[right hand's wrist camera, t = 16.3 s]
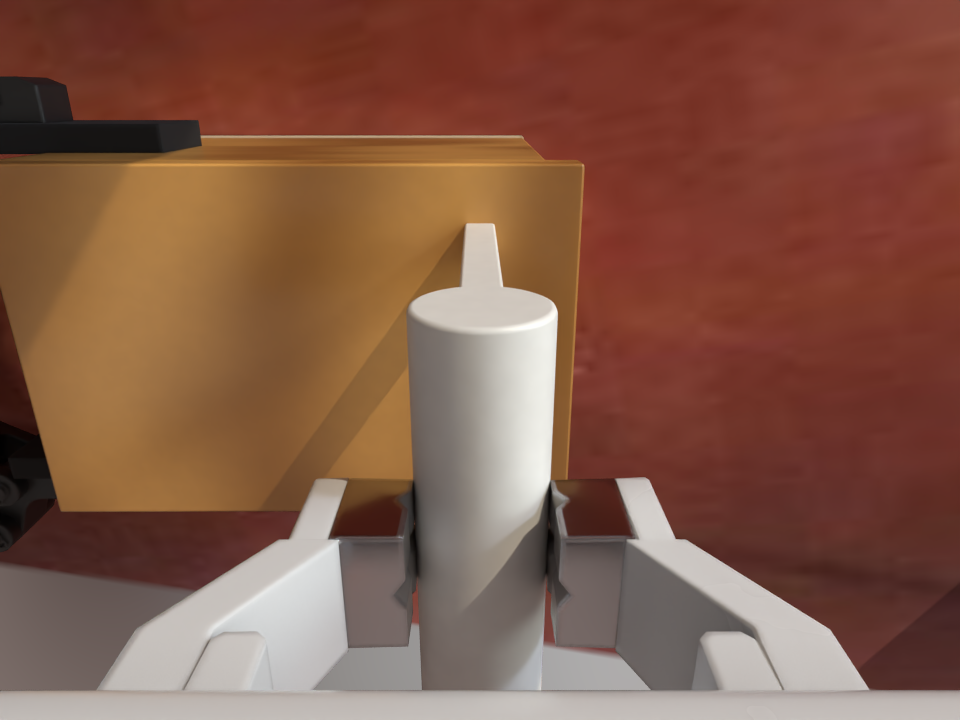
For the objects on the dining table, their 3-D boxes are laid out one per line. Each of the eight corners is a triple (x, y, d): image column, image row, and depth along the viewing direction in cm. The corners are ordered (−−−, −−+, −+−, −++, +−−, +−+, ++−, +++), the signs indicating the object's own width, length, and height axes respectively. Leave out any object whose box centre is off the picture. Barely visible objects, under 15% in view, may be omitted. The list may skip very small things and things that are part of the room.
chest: (521, 135, 25) (547, 159, 16) (516, 364, 29) (535, 493, 19) (170, 135, 25) (-8, 159, 16) (206, 365, 29) (78, 494, 19)
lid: (579, 159, 16) (691, 230, 8) (562, 493, 19) (626, 792, 11) (-10, 159, 16) (-537, 232, 8) (77, 494, 19) (-223, 796, 11)
